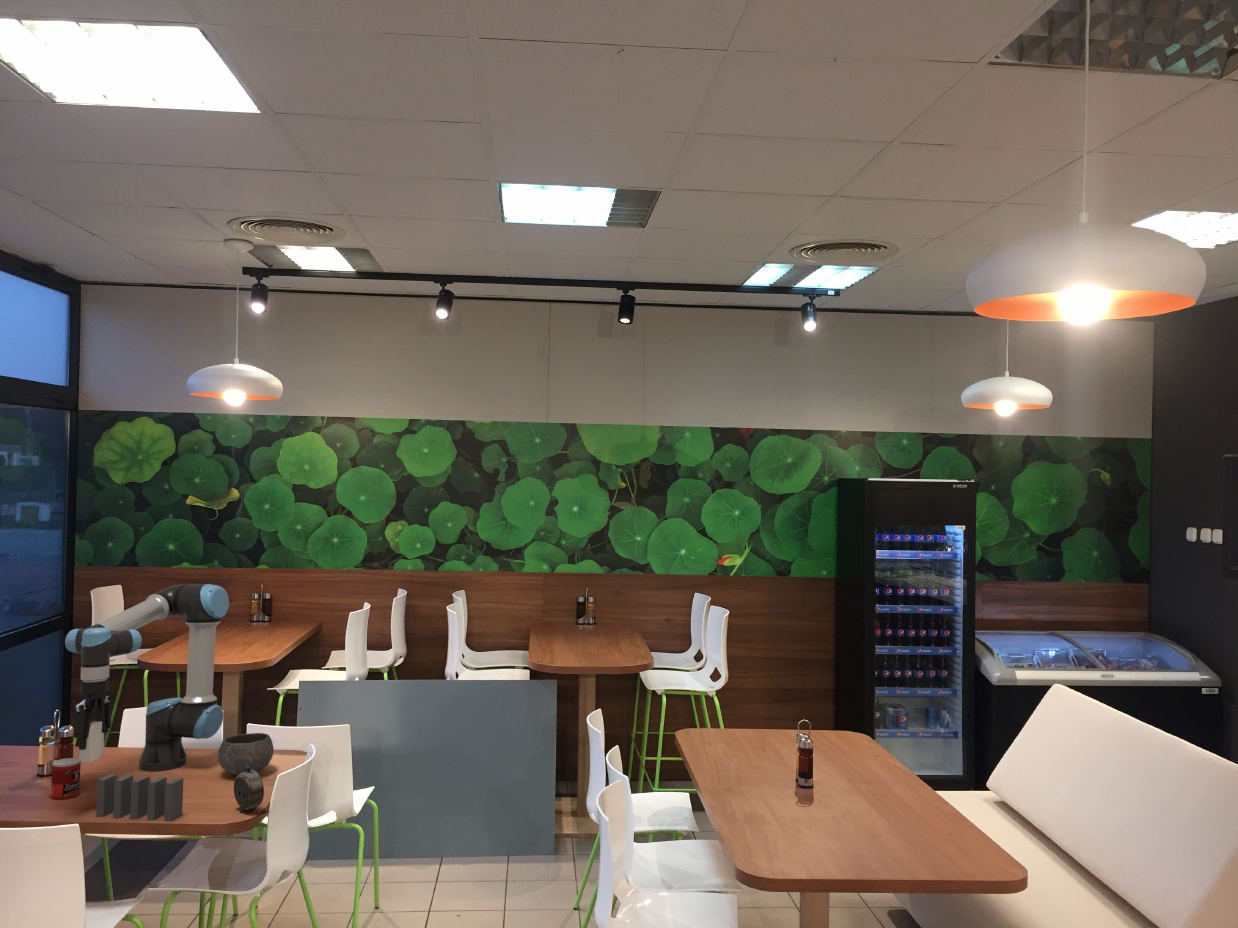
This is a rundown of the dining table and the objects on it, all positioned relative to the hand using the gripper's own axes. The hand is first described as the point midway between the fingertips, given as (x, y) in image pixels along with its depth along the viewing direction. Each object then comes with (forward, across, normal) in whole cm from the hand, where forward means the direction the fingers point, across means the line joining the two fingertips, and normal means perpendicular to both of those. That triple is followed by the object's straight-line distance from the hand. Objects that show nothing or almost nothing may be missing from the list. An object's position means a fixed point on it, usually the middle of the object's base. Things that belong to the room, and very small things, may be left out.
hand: (91, 756), depth 264 cm
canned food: (+17, -12, -19) cm, 28 cm away
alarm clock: (+17, -9, +46) cm, 50 cm away
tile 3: (+17, 0, +11) cm, 20 cm away
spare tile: (+1, 0, 0) cm, 1 cm away
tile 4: (+17, 0, +17) cm, 24 cm away
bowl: (+17, -43, +25) cm, 53 cm away
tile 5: (+17, 0, +22) cm, 28 cm away
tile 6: (+17, 0, +28) cm, 32 cm away
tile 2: (+17, 0, +6) cm, 18 cm away
